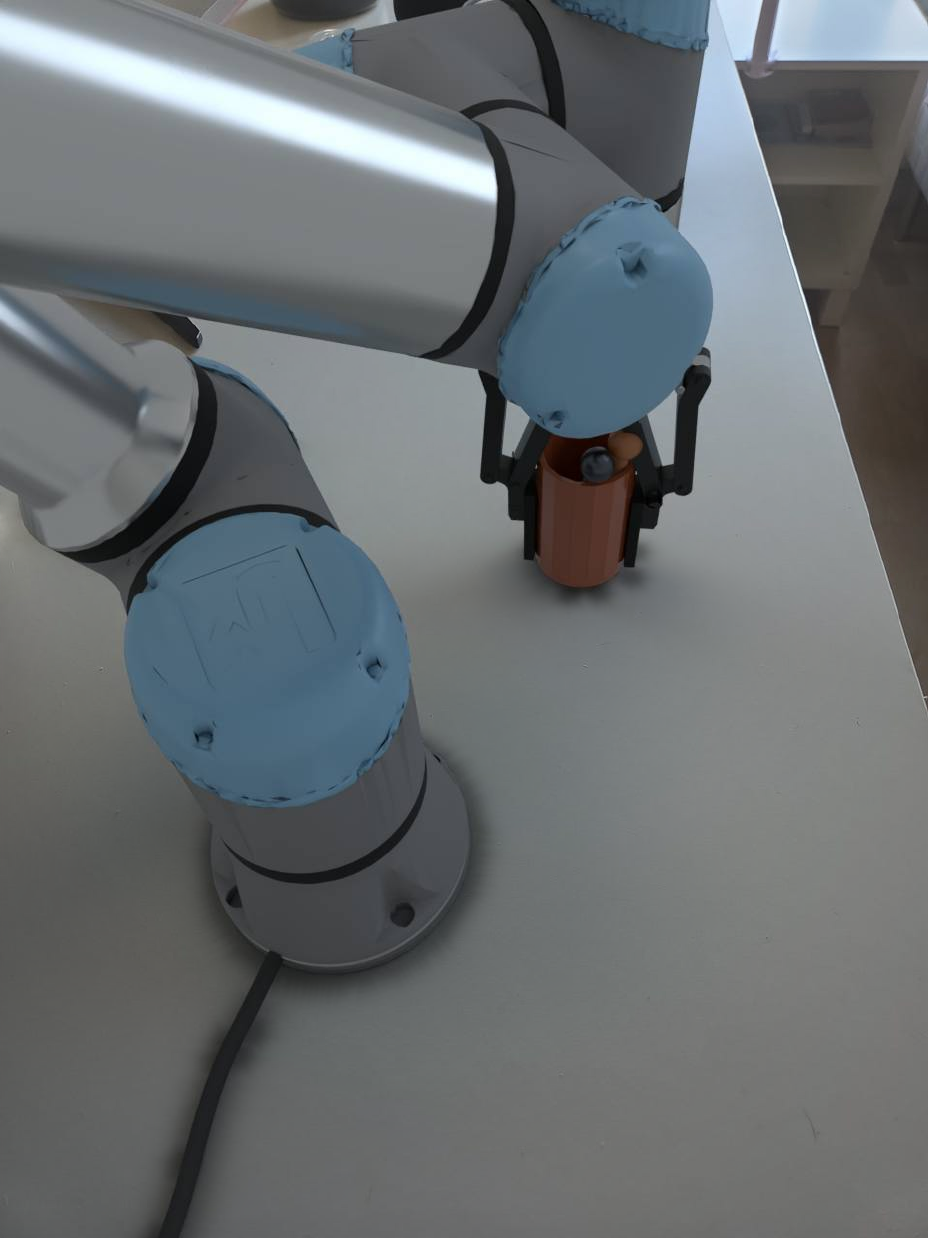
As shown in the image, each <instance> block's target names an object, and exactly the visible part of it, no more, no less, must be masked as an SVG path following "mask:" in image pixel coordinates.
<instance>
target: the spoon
mask: <svg viewBox="0 0 928 1238" xmlns="http://www.w3.org/2000/svg"><path fill="white" fill-rule="evenodd" d="M642 447H643V443H642V441H641V439H640V438H639V437H638V436H636V435H634V434H632V433H623V430H622V429H620V430H618V431H615V432H611V433H610V435H609V438H608V448H609V450H610V452H611V453H612V454H613V456H614V458H615V470H614V473H613V474H612V476H611V477H610V478H609V479H611V478H613V477H614V476H616V475H618V474H619V473H621V472H623V471H624V470H625V468H626V467H627V465H628V464H629V460H630V459H633V458H635V457H636V456H637V455H638V454H639V453H640V452H641V450H642Z"/></svg>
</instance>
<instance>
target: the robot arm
mask: <svg viewBox="0 0 928 1238" xmlns="http://www.w3.org/2000/svg"><path fill="white" fill-rule="evenodd" d="M710 11H711V0H488V1H487V0H486V1H484V2H477V3H476V4H474V5H469V6H465V7H460V8H456V9H451V10H447V11H442V12H438V13H433V14H428V15H424V16H419V17H415V18H410V19H406V20H401V21H397V20H396V21H392V22H389V23H384V24H380V25H379V24H378V25H375V26H370V27H365V28H361V29H357V30H356V27H349V28H345V29H343V30H344V31H343V33H342V34H340V35H337V36H334V37H331V38H328V39H325V40H322V41H319V42H315V43H312V44H309V43H308V44H305V45H303V46H300V47H297V48H294V49H291V50H289V49H286V48H284V47H281V46H278V45H275V44H272V43H270V42H267V41H264V40H262V39H259V38H256V37H253V36H250V35H247V34H245V33H243V32H240V31H237V30H234V29H231V28H228V27H226V26H223V25H220V24H218V23H215V22H212V21H209V20H206V19H204V18H201V17H198V16H196V15H194V14H193V15H192V14H190V13H187V12H184V11H181V10H179V9H176V8H173V7H171V6H168V5H166V4H163V3H160V2H157V1H155V0H0V486H1V487H3V488H4V489H6V490H8V491H10V492H11V493H13V494H15V495H17V500H18V506H19V510H20V511H19V512H20V516H21V519H22V522H23V525H24V527H25V529H26V530H27V532H28V533H29V535H30V536H32V537H33V538H34V540H36V541H37V542H38V543H39V544H41V545H43V546H44V547H47V548H48V549H50V550H52V551H54V552H56V553H58V554H60V555H62V556H64V557H66V558H68V559H69V560H72V561H74V562H75V563H77V564H80V565H81V566H83V567H85V568H87V569H89V570H91V571H93V572H95V573H97V574H99V575H101V576H103V577H105V578H106V579H107V580H108V581H110V582H111V583H112V584H113V586H114V587H115V588H116V589H117V590H118V592H119V595H120V598H121V602H122V605H123V608H124V610H125V613H126V622H125V627H124V629H125V630H124V637H123V639H124V640H123V657H124V664H125V668H126V669H125V670H126V673H127V674H126V675H127V678H128V682H129V685H130V690H131V696H132V698H133V702H134V704H135V707H136V710H137V713H138V715H139V717H140V720H141V722H142V724H143V726H144V728H145V730H146V731H147V733H148V735H149V736H150V737H151V739H152V740H153V741H154V742H155V743H156V744H157V745H158V747H159V749H160V750H161V752H162V754H163V756H164V757H165V758H166V759H167V761H169V762H171V763H172V765H173V766H174V768H175V769H176V771H177V772H178V774H179V775H180V777H181V778H182V780H183V782H184V784H185V785H186V786H187V788H188V790H189V791H190V793H191V794H192V796H193V797H194V799H195V800H196V802H197V804H198V805H199V807H200V808H201V810H202V811H203V813H204V815H205V816H206V818H207V820H208V821H209V822H210V824H211V826H212V829H211V839H210V864H211V865H210V866H211V873H212V877H213V883H214V886H215V889H216V893H217V896H218V897H219V900H220V903H221V905H222V907H223V909H224V910H225V912H226V914H227V915H228V917H229V918H230V919H231V921H232V922H233V924H234V925H235V927H236V928H237V929H238V931H239V932H240V933H241V934H242V936H244V938H245V939H246V940H247V941H248V942H249V943H250V944H251V945H252V946H254V947H255V949H257V950H258V951H260V952H261V953H262V954H263V955H265V957H264V960H263V962H262V964H261V965H260V967H259V970H258V972H257V974H256V976H255V978H254V980H253V982H252V984H251V986H250V988H249V990H248V992H247V994H246V996H245V998H244V1000H243V1002H242V1004H241V1006H240V1007H239V1010H238V1012H237V1014H236V1016H235V1018H234V1020H233V1021H232V1024H231V1026H230V1027H229V1030H228V1031H227V1033H226V1035H225V1036H224V1039H223V1041H222V1043H221V1045H220V1047H219V1049H218V1051H217V1053H216V1056H215V1058H214V1060H213V1063H212V1066H211V1068H210V1071H209V1072H208V1076H207V1078H206V1081H205V1082H204V1087H203V1089H202V1092H201V1095H200V1098H199V1101H198V1104H197V1107H196V1110H195V1113H194V1116H193V1120H192V1124H191V1128H190V1131H189V1135H188V1138H187V1143H186V1146H185V1148H184V1149H185V1150H184V1153H183V1155H182V1160H181V1165H180V1167H179V1171H178V1175H177V1178H176V1182H175V1186H174V1189H173V1192H172V1196H171V1199H170V1201H169V1205H168V1208H167V1211H166V1214H165V1216H164V1219H163V1223H162V1225H161V1228H160V1230H159V1233H158V1235H157V1238H180V1235H181V1234H182V1230H183V1227H184V1224H185V1222H186V1218H187V1215H188V1211H189V1208H190V1205H191V1202H192V1199H193V1197H194V1196H193V1195H194V1192H195V1188H196V1185H197V1181H198V1177H199V1174H200V1170H201V1168H202V1167H201V1166H202V1163H203V1158H204V1156H205V1155H204V1154H205V1151H206V1147H207V1143H208V1140H209V1136H210V1131H211V1128H212V1124H213V1121H214V1118H215V1114H216V1111H217V1108H218V1104H219V1101H220V1098H221V1096H222V1092H223V1090H224V1087H225V1084H226V1081H227V1079H228V1077H229V1074H230V1071H231V1069H232V1066H233V1064H234V1062H235V1059H236V1057H237V1055H238V1053H239V1050H240V1049H241V1047H242V1045H243V1042H244V1041H245V1039H246V1037H247V1035H248V1033H249V1031H250V1028H251V1027H252V1025H253V1023H254V1021H255V1019H256V1017H257V1015H258V1013H259V1011H260V1010H261V1007H262V1005H263V1003H264V1000H265V999H266V997H267V994H268V993H269V990H270V988H271V987H272V984H273V982H274V980H275V979H276V977H277V974H278V972H279V970H280V969H281V966H282V965H284V966H286V967H289V968H293V969H296V970H300V971H303V972H308V973H314V974H327V975H331V974H332V975H333V974H335V975H336V974H337V975H338V974H339V975H340V974H348V973H356V972H361V971H365V970H368V969H372V968H375V967H378V966H381V965H383V964H386V963H388V962H390V961H393V960H394V959H396V958H398V957H399V956H401V955H403V954H405V953H407V952H409V951H410V950H411V949H413V948H414V947H416V946H417V945H418V944H419V943H420V942H422V941H423V940H425V938H427V937H428V936H429V935H430V934H431V933H432V932H433V931H434V930H435V929H436V928H437V927H438V925H440V923H441V922H442V921H443V920H444V918H445V917H446V916H447V914H448V912H449V911H450V910H451V908H452V907H453V905H454V904H455V901H456V900H457V898H458V896H459V894H460V891H461V889H462V887H463V884H464V881H465V878H466V875H467V872H468V868H469V867H468V866H469V863H470V862H469V861H470V857H471V829H470V821H469V813H468V808H467V804H466V800H465V797H464V794H463V792H462V789H461V787H460V785H459V783H458V781H457V779H456V777H455V775H454V774H453V772H452V771H451V769H450V768H449V766H448V765H447V763H446V762H445V761H444V759H442V757H441V756H440V755H439V753H437V752H436V751H435V750H434V749H433V748H432V747H431V746H430V745H428V744H427V743H426V742H425V741H424V740H423V734H422V729H421V723H420V718H419V712H418V707H417V701H416V697H415V696H416V695H415V691H414V686H413V685H414V684H413V679H412V672H411V669H410V663H411V662H412V661H411V659H412V658H411V649H410V644H409V641H408V635H407V628H406V626H405V623H404V620H403V616H402V612H401V609H400V608H399V605H398V604H397V602H396V600H395V597H394V595H393V593H392V591H391V589H390V588H389V586H388V583H387V581H386V579H385V578H384V576H383V574H382V572H381V571H380V569H379V568H378V567H377V565H376V564H375V563H374V562H373V560H372V559H371V557H369V556H368V554H367V553H366V552H365V551H364V550H363V549H362V548H361V547H360V546H359V545H358V544H356V543H355V542H354V541H353V540H352V539H350V538H349V537H348V536H346V535H345V534H344V533H342V531H341V529H340V527H339V525H338V523H337V521H336V519H335V518H334V515H333V514H332V512H331V510H330V508H329V506H328V504H327V502H326V500H325V499H324V496H323V494H322V492H321V490H320V488H319V486H318V485H317V483H316V481H315V479H314V477H313V475H312V473H311V471H310V469H309V468H308V467H309V466H308V465H307V464H306V462H305V459H304V458H303V455H302V451H301V448H300V445H299V442H298V439H297V438H296V436H295V433H294V431H293V430H291V428H290V424H289V422H288V420H287V419H286V417H285V416H284V414H283V413H282V412H281V411H280V410H279V408H278V407H277V406H276V404H275V403H274V402H273V401H272V400H271V399H270V398H269V397H268V396H267V395H266V394H265V392H263V391H262V389H261V388H260V387H259V386H258V385H257V384H256V383H255V382H253V381H252V380H251V379H249V378H248V377H247V376H246V375H244V374H243V373H241V372H240V371H238V370H236V369H234V368H233V367H231V366H229V365H226V364H224V363H222V362H219V361H216V360H214V359H210V358H206V357H203V356H199V355H198V356H197V355H191V356H188V355H186V354H185V353H184V352H183V351H182V350H180V349H179V348H178V347H176V346H174V345H173V344H170V343H169V342H167V341H165V340H161V339H157V338H145V339H137V340H132V341H127V342H123V343H121V342H119V340H117V339H116V338H114V337H113V336H112V335H110V334H109V333H108V332H107V331H105V330H104V329H103V328H102V327H100V326H99V325H98V324H96V323H95V322H94V321H92V320H91V319H90V318H89V317H87V316H86V315H85V314H83V312H81V311H79V309H77V308H76V307H75V306H73V305H72V304H71V303H69V302H68V301H67V300H66V299H64V298H62V296H64V297H70V298H75V299H80V300H86V301H93V302H98V303H102V304H103V303H105V304H110V305H114V306H121V307H128V308H132V309H139V310H145V311H150V312H155V313H156V312H157V313H161V314H162V313H163V314H168V315H174V316H180V317H185V318H190V319H191V318H192V319H197V320H203V321H208V322H214V323H220V324H225V325H232V326H237V327H244V328H249V329H255V330H261V331H265V332H267V331H268V332H271V333H278V334H283V335H289V336H295V337H302V338H307V339H312V340H313V339H314V340H319V341H325V342H330V343H336V344H343V345H346V346H353V347H360V348H365V349H370V350H377V351H382V352H388V353H393V354H394V353H395V354H399V355H405V356H409V357H413V358H419V359H422V360H423V359H424V360H428V361H431V362H435V363H439V364H443V365H444V364H445V365H450V366H455V367H462V368H469V369H474V370H477V374H478V376H479V379H480V381H481V385H482V387H483V390H484V393H485V407H484V420H483V433H482V445H481V457H480V470H479V471H480V472H479V479H480V481H481V482H482V483H484V484H486V485H493V484H496V483H500V484H501V485H504V486H505V488H506V489H507V516H508V517H509V519H510V521H517V522H518V521H519V522H523V561H524V560H525V561H535V558H536V552H535V530H536V478H537V463H538V461H539V459H540V457H541V455H542V453H543V451H544V449H545V447H546V445H547V443H548V441H549V439H550V437H551V435H552V433H553V434H555V435H559V436H563V437H568V438H591V437H595V436H599V435H603V434H607V433H611V432H615V431H618V430H620V429H622V430H623V433H632V434H634V435H636V436H638V437H639V438H640V439H641V441H642V443H643V447H642V450H641V452H640V453H639V454H638V455H637V456H636V457H635V458H633V459H632V460H633V463H634V466H635V469H636V474H635V482H634V489H633V496H632V503H631V511H630V518H629V526H628V533H627V541H626V549H625V556H624V560H623V568H635V565H636V560H637V559H636V558H637V555H638V553H637V552H638V544H639V539H640V534H641V533H640V532H641V529H642V530H643V529H644V530H655V528H656V527H657V526H658V523H659V516H660V510H661V508H662V506H663V505H664V497H665V496H667V495H669V494H675V495H677V496H679V497H686V496H689V495H690V494H691V493H692V492H693V490H694V489H693V488H694V487H693V486H694V474H695V461H696V446H697V435H698V421H699V407H700V404H701V402H702V400H703V399H704V397H705V396H706V394H707V392H708V390H709V388H710V386H711V383H712V355H711V351H710V350H709V348H708V347H705V346H704V345H705V342H706V340H707V337H708V334H709V331H710V327H711V323H712V319H713V311H714V289H713V284H712V280H711V276H710V273H709V271H708V267H707V266H706V264H705V262H704V260H703V258H702V257H701V256H700V254H699V252H698V251H697V250H696V249H695V248H694V247H693V246H692V244H691V243H690V242H689V241H688V240H687V239H686V238H685V236H683V234H681V232H680V231H679V228H680V220H681V214H682V208H683V207H682V206H683V201H684V200H683V199H684V193H685V180H686V172H687V167H688V159H689V154H690V147H691V141H692V135H693V129H694V124H695V123H694V122H695V116H696V111H697V110H696V109H697V103H698V96H699V92H700V85H701V78H702V74H703V73H702V71H703V65H704V61H705V54H706V50H707V48H708V47H709V42H710V35H709V20H710ZM674 391H675V393H676V407H675V425H674V427H675V428H674V447H673V463H670V464H666V465H663V463H662V459H661V456H660V452H659V449H658V446H657V442H656V439H655V436H654V433H653V429H652V426H651V423H650V419H649V416H648V414H650V413H651V412H652V411H654V410H655V409H657V408H658V407H659V406H660V405H661V404H662V403H663V402H665V400H666V399H668V397H670V395H671V394H672V393H673V392H674ZM508 402H509V403H511V404H514V405H515V406H517V407H520V408H521V409H522V411H523V412H524V413H525V414H526V415H527V416H528V417H529V420H528V422H527V424H526V426H525V429H524V430H523V433H522V435H521V437H520V439H519V441H518V443H517V445H516V448H515V450H514V451H513V450H512V451H511V456H509V455H506V454H503V449H504V448H503V447H504V438H505V428H506V419H507V418H506V417H507V410H508V409H507V407H508Z"/></svg>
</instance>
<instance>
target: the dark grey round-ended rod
mask: <svg viewBox="0 0 928 1238" xmlns="http://www.w3.org/2000/svg"><path fill="white" fill-rule="evenodd" d="M614 470H615V458H614V456H613V454H612V453H611V452H610V451H609V450H607V449H606V448H603V447H593V448H590V449H588V450H587V451H586V452H585V453H584V454H583V455H582V457H581V459H580V471H581V473H582V475H583V476H584V477H583V479H582V481H581V482H593V483H600V482H604V481H606V480H608V479H609V478H610V477H611V476H612V474H613V473H614Z"/></svg>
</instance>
